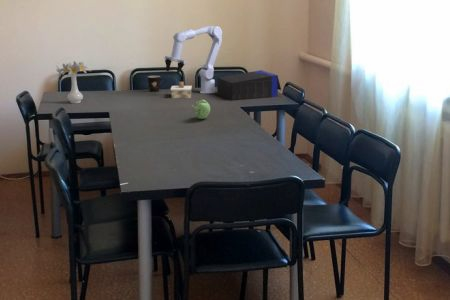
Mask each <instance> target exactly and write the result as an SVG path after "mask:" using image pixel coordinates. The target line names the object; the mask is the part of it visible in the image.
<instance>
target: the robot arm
mask: <svg viewBox="0 0 450 300" xmlns="http://www.w3.org/2000/svg"><path fill="white" fill-rule="evenodd" d="M203 34H208V36H209V37H210V38H211V41H212V44H211V46H210V50H209V52H208V56H207V57H206V58H207V59H206V60H205V64H203V65H202V66H201V69H199V71H198V75H199V77H200V94H215V93H216V87H215V83H216V82H215V79H213V78H214V72H215V69H214V65H215V62H216V60H217V57H218V54H219V51H220V48H221V45H222V43H223V30H222V29H221V27H220V26H217V25H215V26H214V25H208V26H203V27H201V28H197V29H194V30H193V29H191V28H187V30H184V31H183V30H181V31H180V32H175V33H174V35H173V38H172V39H173V41H174V42H173V46H172V52H171V56H167V55H165V56H164V62H165V65H166V66H165V67H166V69H165V70H166V72H169V71H170V69H171V65H172V62H177V68H176V69H177V70H176V74H177V75H179V74H180V73H181V70H182V69H183V67H184V66H185V64H186V62H187V60H185V59H181V55H182V51H183V50H182V49H183V45H184V42H185V41H188V40H192V39H195V36H200V35H203Z"/></svg>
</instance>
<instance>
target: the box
mask: <svg viewBox="0 0 450 300" xmlns="http://www.w3.org/2000/svg"><path fill="white" fill-rule="evenodd" d="M191 98H192V89H191V90H178V91H171V99H191Z"/></svg>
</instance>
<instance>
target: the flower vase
mask: <svg viewBox="0 0 450 300" xmlns="http://www.w3.org/2000/svg"><path fill="white" fill-rule="evenodd" d="M72 63H73V64H72ZM55 67H56V72H57V73H58V77H59V78H60V77H61V76H63V75H65V74H66V73H68V74H67V75H68V76H70V77H71V80H70V81H71V90H70V92H69V93H68V94H67V97H66V98H67V100H68V101H70V103H71V104H79V103H82V102H81V101H82V100H83V98H84V95H83V93H82V92H81V91H79V88H78V81H77V77H78V73H79V72H83V73H85V74H87V71H86V70H87V69H88V66H87V65H84V62H83V61H81V62H78V63H77V62H76V61H72V62H71V61H69V63H62V68H60V67H58V65H55Z"/></svg>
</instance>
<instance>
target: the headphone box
mask: <svg viewBox="0 0 450 300" xmlns="http://www.w3.org/2000/svg"><path fill="white" fill-rule="evenodd" d="M216 83H217V88H216V89H217V90H216V92H217V93H216V94H217V95H218V96H221V98H225V99H227V100H229V101H231V102H232V101H245V100H255V99H269V98H277V97H278V92H279V91H282V87H281V83H280V80H279V76H278V75H277V74H275V73H272V72H268V71H265V70H262V69H260V70H254V71H249V72H242V73H237V74H231V75H225V76H219V77H217V78H216Z"/></svg>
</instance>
